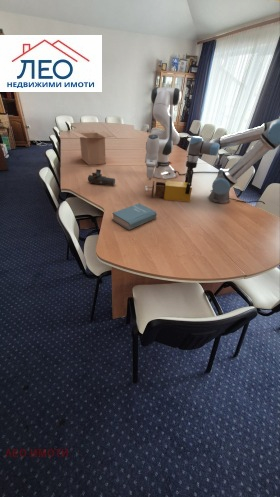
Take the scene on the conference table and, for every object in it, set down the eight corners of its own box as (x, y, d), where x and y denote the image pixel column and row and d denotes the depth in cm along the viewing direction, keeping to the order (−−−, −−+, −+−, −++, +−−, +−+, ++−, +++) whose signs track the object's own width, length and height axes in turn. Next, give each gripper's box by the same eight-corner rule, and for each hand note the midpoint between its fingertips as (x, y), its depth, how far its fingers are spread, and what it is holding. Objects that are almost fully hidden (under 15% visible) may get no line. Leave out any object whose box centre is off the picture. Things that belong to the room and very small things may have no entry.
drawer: (144, 196, 168) (144, 184, 162) (144, 191, 175) (145, 180, 170) (175, 199, 167) (177, 187, 162) (174, 194, 175) (176, 182, 169)
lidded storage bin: (163, 199, 167) (165, 185, 161) (163, 194, 176) (165, 180, 170) (189, 201, 167) (192, 187, 160) (187, 196, 175) (190, 182, 169)
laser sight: (112, 187, 180) (112, 175, 174) (86, 184, 183) (85, 171, 177) (115, 183, 187) (115, 171, 181) (90, 180, 190) (89, 168, 184)
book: (138, 209, 150) (139, 203, 147) (156, 219, 142) (156, 212, 139) (112, 220, 137) (112, 212, 134) (129, 230, 128) (130, 223, 125)
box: (116, 165, 229) (116, 136, 213) (83, 168, 214) (80, 137, 198) (102, 154, 259) (101, 128, 243) (71, 156, 244) (68, 129, 228)
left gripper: (147, 156, 165) (146, 175, 173) (146, 164, 148) (144, 184, 157) (156, 157, 165) (154, 175, 173) (155, 164, 148) (153, 185, 156)
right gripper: (185, 156, 164) (180, 184, 177) (188, 165, 145) (182, 196, 158) (195, 157, 164) (189, 185, 177) (199, 166, 145) (193, 197, 158)
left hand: (149, 179), depth 165 cm, fingers closed
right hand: (186, 190), depth 167 cm, fingers open, 12 cm apart
